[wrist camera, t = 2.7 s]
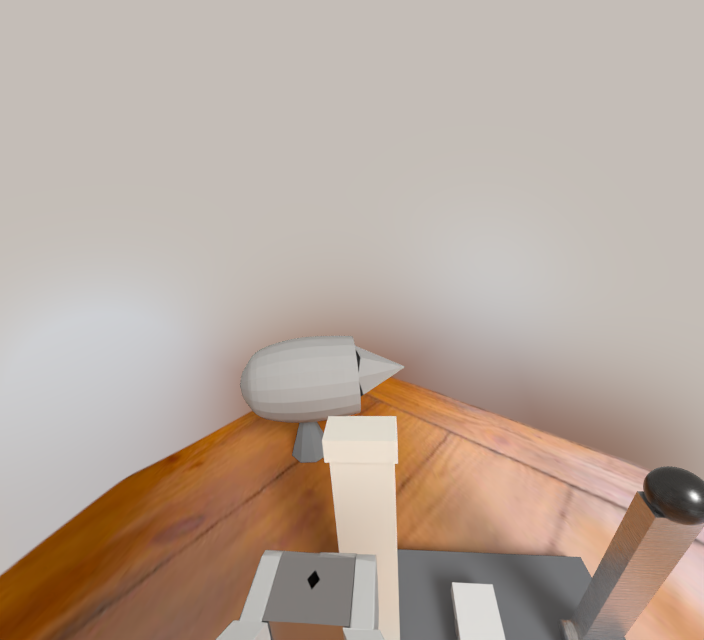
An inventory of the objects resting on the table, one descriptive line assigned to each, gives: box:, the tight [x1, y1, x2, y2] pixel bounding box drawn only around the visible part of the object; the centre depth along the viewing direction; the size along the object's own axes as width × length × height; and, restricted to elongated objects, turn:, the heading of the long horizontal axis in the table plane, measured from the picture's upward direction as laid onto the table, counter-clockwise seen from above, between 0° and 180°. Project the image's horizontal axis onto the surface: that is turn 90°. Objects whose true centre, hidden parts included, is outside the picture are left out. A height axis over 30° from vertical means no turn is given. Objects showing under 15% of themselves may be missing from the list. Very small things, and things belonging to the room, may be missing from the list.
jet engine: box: [240, 336, 404, 463], centre depth 47 cm, size 15×20×18 cm
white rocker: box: [451, 582, 505, 640], centre depth 26 cm, size 5×3×1 cm, turn 175°
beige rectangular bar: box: [322, 416, 400, 640], centre depth 24 cm, size 2×4×19 cm, turn 85°
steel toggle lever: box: [559, 467, 704, 640], centre depth 21 cm, size 3×4×19 cm
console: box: [397, 549, 626, 640], centre depth 28 cm, size 10×22×2 cm, turn 85°
